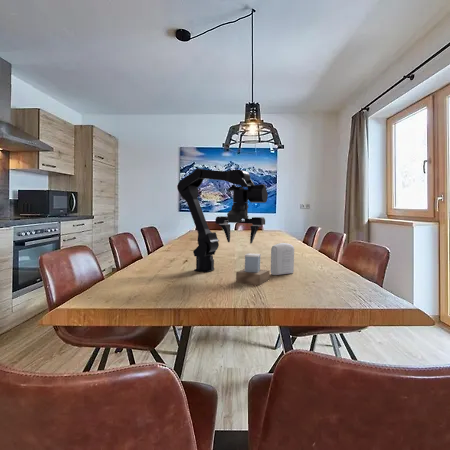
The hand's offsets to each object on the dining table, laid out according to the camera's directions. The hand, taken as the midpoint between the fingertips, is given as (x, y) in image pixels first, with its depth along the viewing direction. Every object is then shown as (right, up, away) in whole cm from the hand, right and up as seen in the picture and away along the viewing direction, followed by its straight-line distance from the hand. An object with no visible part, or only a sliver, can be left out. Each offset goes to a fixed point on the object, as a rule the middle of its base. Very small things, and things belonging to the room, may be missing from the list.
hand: (239, 242), depth 132 cm
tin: (+4, -10, -11) cm, 15 cm away
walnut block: (+4, -14, -10) cm, 18 cm away
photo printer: (+17, -13, +4) cm, 22 cm away
